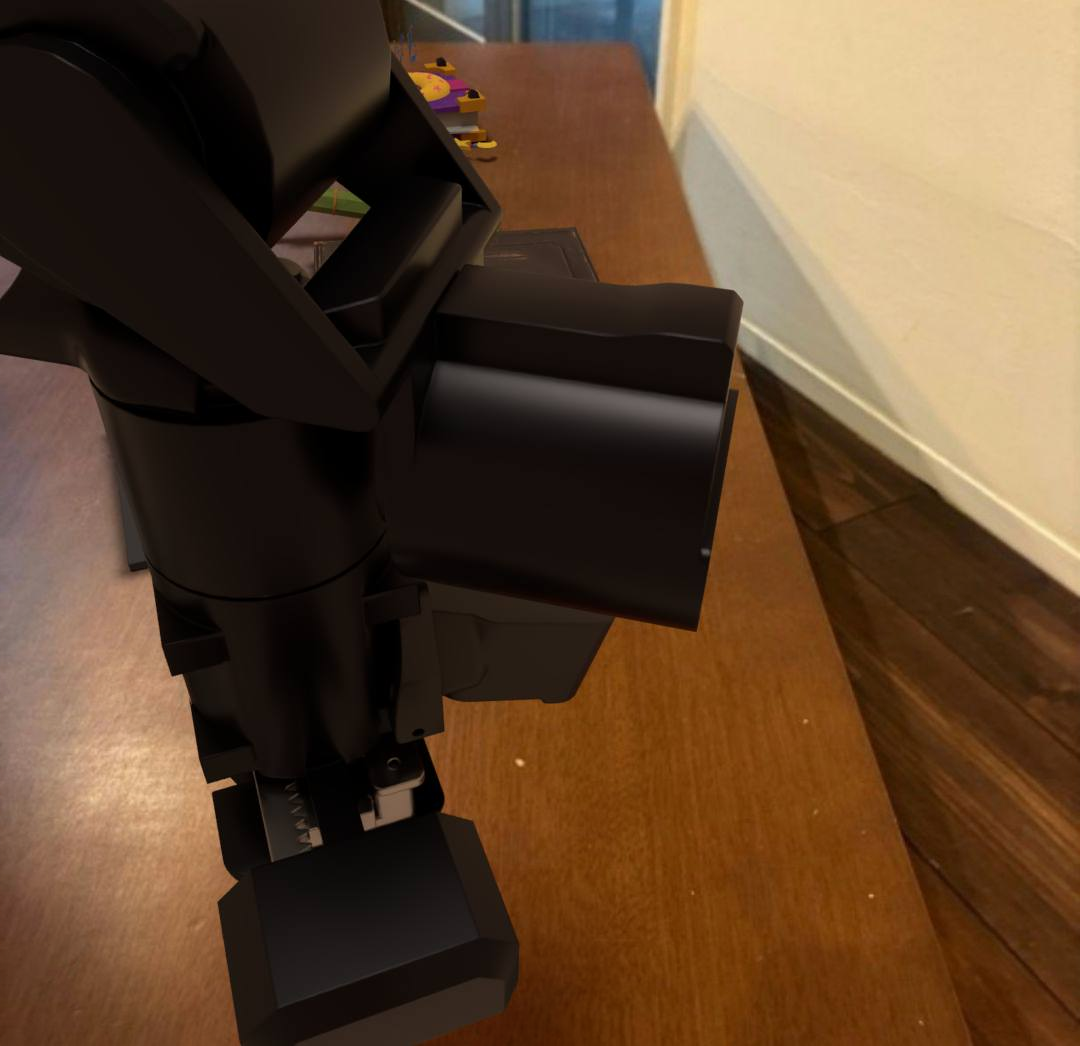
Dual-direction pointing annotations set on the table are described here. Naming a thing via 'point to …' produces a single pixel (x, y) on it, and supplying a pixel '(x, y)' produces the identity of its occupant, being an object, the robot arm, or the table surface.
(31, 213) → the robot arm
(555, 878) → the table surface
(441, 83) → the book
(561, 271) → the brown leather hardcover
